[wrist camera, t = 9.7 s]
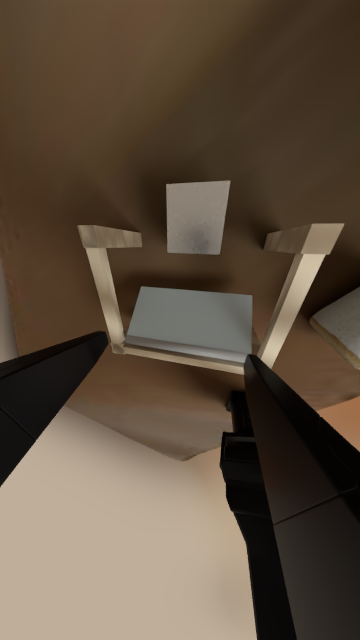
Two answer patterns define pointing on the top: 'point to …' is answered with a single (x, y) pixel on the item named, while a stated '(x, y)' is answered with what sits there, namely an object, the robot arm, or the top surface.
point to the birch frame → (309, 256)
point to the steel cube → (196, 216)
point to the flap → (193, 322)
